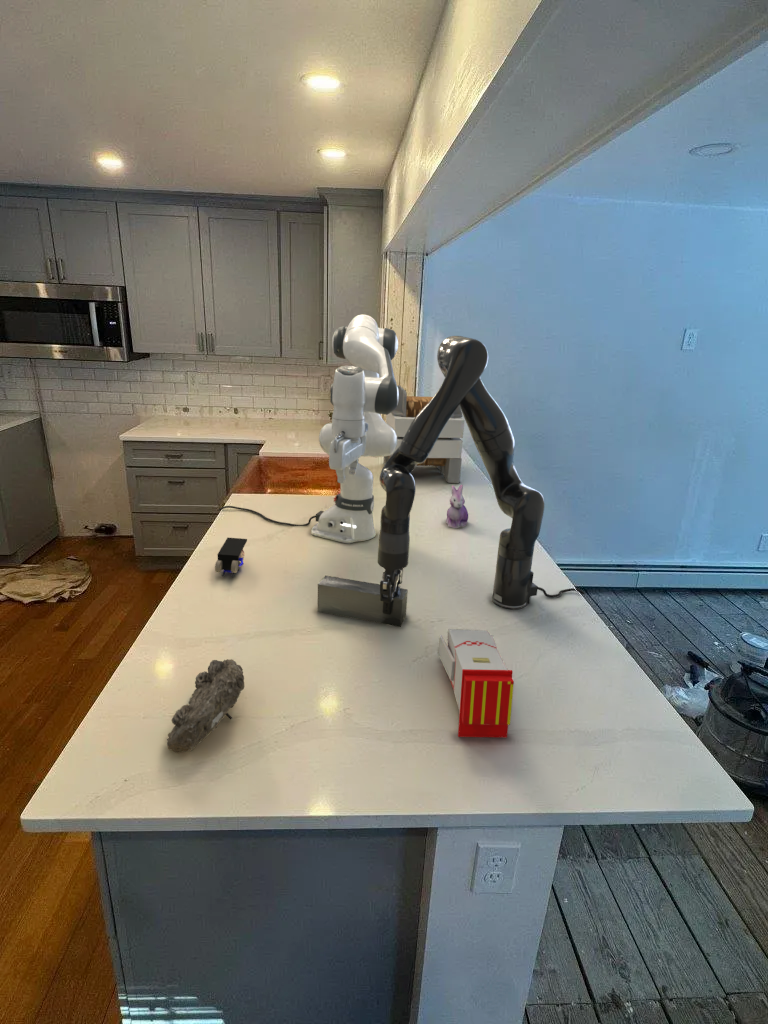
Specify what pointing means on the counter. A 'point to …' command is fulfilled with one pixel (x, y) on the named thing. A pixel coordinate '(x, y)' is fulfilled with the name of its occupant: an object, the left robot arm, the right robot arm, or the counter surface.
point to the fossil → (206, 705)
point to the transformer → (447, 444)
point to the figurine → (457, 509)
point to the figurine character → (230, 556)
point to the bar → (360, 601)
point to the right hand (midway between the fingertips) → (390, 607)
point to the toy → (478, 682)
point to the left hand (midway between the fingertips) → (347, 478)
